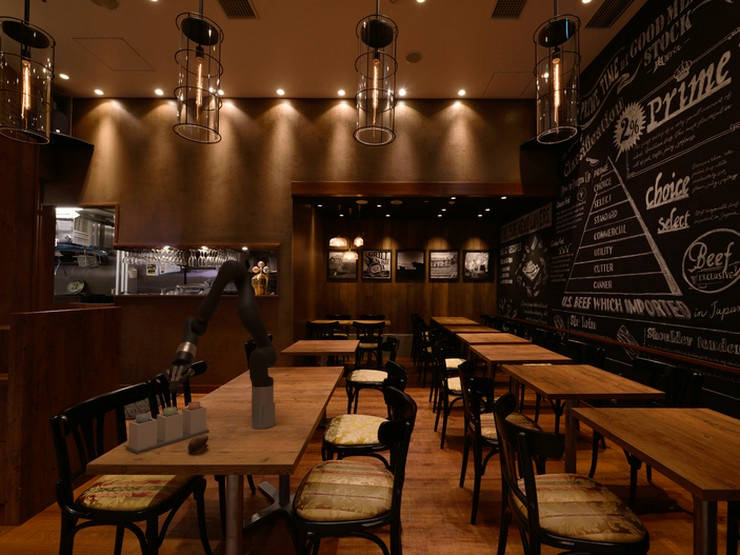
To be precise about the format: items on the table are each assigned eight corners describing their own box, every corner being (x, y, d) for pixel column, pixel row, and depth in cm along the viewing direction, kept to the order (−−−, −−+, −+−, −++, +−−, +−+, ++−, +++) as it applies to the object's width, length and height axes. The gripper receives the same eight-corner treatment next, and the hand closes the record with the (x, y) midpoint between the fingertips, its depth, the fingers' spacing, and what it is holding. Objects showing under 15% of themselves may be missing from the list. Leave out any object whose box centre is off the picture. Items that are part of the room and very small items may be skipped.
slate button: (152, 422, 147) (152, 414, 147) (139, 425, 143) (139, 417, 143) (146, 420, 150) (146, 412, 150) (133, 423, 146) (133, 415, 146)
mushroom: (217, 438, 147) (206, 426, 145) (209, 454, 139) (198, 442, 137) (200, 447, 148) (189, 435, 146) (191, 463, 140) (180, 452, 138)
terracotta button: (202, 409, 163) (202, 402, 163) (192, 412, 159) (192, 404, 159) (196, 408, 166) (196, 400, 166) (185, 410, 162) (185, 403, 162)
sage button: (178, 415, 155) (179, 408, 155) (167, 418, 151) (167, 410, 151) (172, 413, 158) (172, 406, 158) (161, 416, 154) (161, 408, 154)
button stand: (209, 432, 163) (209, 407, 163) (136, 454, 140) (137, 425, 140) (197, 428, 168) (197, 404, 168) (125, 449, 145) (126, 421, 146)
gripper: (166, 350, 167) (151, 386, 154) (198, 349, 167) (186, 385, 154) (171, 361, 172) (157, 396, 159) (202, 360, 172) (191, 395, 159)
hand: (172, 391), depth 157 cm, fingers closed
